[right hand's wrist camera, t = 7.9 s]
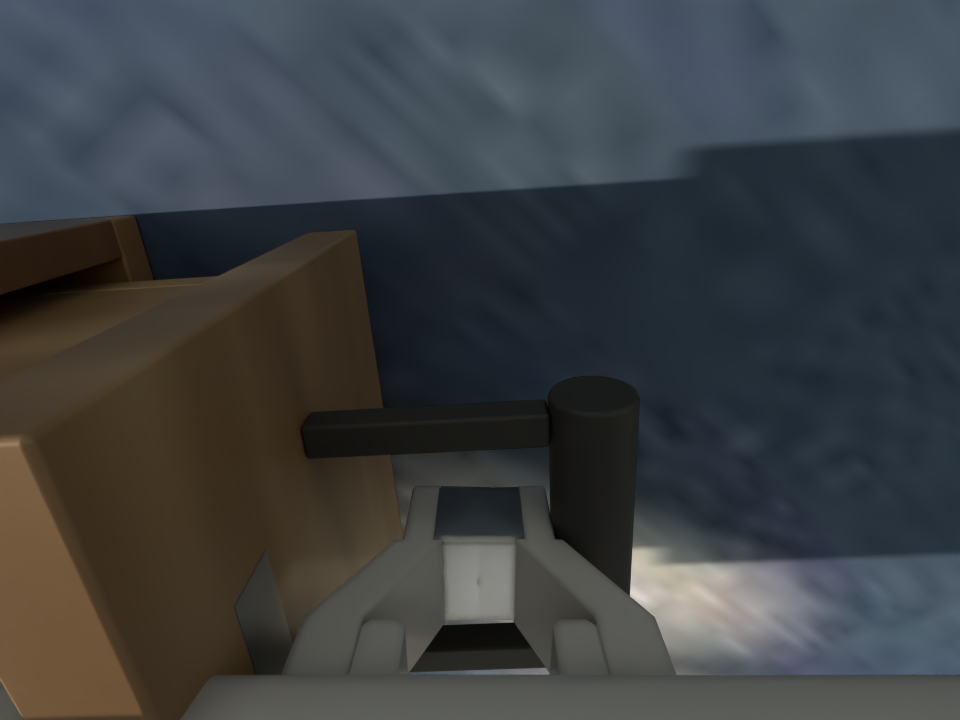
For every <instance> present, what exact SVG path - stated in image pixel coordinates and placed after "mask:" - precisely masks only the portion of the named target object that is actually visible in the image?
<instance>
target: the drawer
mask: <svg viewBox="0 0 960 720" xmlns="http://www.w3.org/2000/svg"><path fill="white" fill-rule="evenodd" d="M639 405H640V399H639V396H638V393H637V391H636V390H635V389H634V388H633V387H632V386H631V385H629V384H627V383H626V382H623V381H621V380H618V379H614V378H609V377H602V376H580V377H574V378H570V379H566V380H563V381H561V382H559V383H557V384H556V385H554V386H553V387H552V388H551V390H550V392H549V395H548V406H547V403H546V401H545V400H542V399H540V400H521V401H503V402H484V403H466V404H447V405H429V406H410V407H392V408H383V403H382V397H381V390H380V384H379V377H378V371H377V364H376V358H375V351H374V345H373V338H372V332H371V325H370V319H369V312H368V306H367V299H366V293H365V286H364V280H363V273H362V267H361V260H360V254H359V247H358V241H357V234H356V231H355V230H340V231H326V232H311V233H307V234H304V235H302V236H300V237H298V238H296V239H294V240H292V241H290V242H288V243H286V244H284V245H282V246H280V247H278V248H275V249H273V250H271V251H269V252H267V253H265V254H263V255H261V256H259V257H257V258H255V259H253V260H251V261H248V262H246V263H244V264H242V265H240V266H238V267H236V268H234V269H232V270H230V271H228V272H226V273H224V274H221V275H219V276H212V277H196V278H181V279H165V280H150V281H135V282H119V283H104V284H88V285H73V286H58V287H42V288H27V289H18V290H15V291H12V292H9V293H5V294H2V295H0V681H1V683H2V684H3V686H4V688H5V690H6V691H7V693H8V695H9V696H10V698H11V700H12V701H13V703H14V705H15V706H16V708H17V710H18V712H19V713H20V715H21V717H22V718H23V720H180V719H181V718H182V716H183V715H184V713H185V712H186V710H187V709H188V707H189V706H190V705H191V703H192V702H193V700H194V699H195V697H196V696H197V694H198V693H199V691H200V690H201V689H202V687H203V686H204V684H205V683H206V682H207V681H208V680H209V679H210V678H211V677H213V676H215V675H281V674H282V671H283V668H284V666H285V663H286V661H287V658H288V656H289V653H290V650H291V648H292V645H293V643H294V640H295V637H296V635H297V632H298V630H299V627H300V625H301V622H302V619H303V617H304V616H305V615H306V614H307V613H308V612H310V611H311V610H312V609H313V608H314V607H316V606H317V605H318V604H319V603H320V602H322V601H323V600H324V599H325V598H326V597H328V596H329V595H330V594H331V593H332V592H334V591H335V590H336V589H337V588H338V587H340V586H341V585H342V584H343V583H344V582H346V581H347V580H348V579H349V578H350V577H352V576H353V575H354V574H355V573H356V572H358V571H359V570H360V569H361V568H362V567H364V566H365V565H366V564H367V563H368V562H369V561H371V560H372V559H373V558H374V557H375V556H377V555H378V554H379V553H380V552H381V551H383V550H384V549H385V548H386V547H387V546H389V545H390V544H391V543H392V542H393V541H395V540H403V533H402V527H401V520H400V514H399V507H398V501H397V494H396V488H395V481H394V475H393V468H392V462H391V455H397V454H417V453H436V452H456V451H476V450H496V449H516V448H535V447H547V446H549V471H550V516H551V522H552V526H553V531H554V536H555V540H564V541H565V542H566V543H567V544H568V545H570V546H571V547H572V548H573V549H574V550H576V551H577V552H578V553H579V554H580V555H581V556H583V557H584V558H585V559H586V560H587V561H589V562H590V563H591V564H592V565H593V566H594V567H596V568H597V569H598V570H599V571H600V572H602V573H603V574H604V575H605V576H606V577H608V578H609V579H610V580H611V581H612V582H613V583H615V584H616V585H617V586H618V587H619V588H621V589H622V590H623V591H624V592H625V593H627V594H628V595H629V596H630V581H631V561H632V542H633V522H634V503H635V483H636V464H637V444H638V425H639ZM520 668H546V667H545V666H544V664H543V663H542V661H541V660H540V659H539V657H538V656H537V654H536V653H535V652H534V650H533V649H532V647H531V646H530V645H529V643H528V642H527V640H526V639H525V637H524V636H523V635H522V633H521V632H520V630H519V629H518V628H517V626H516V625H515V623H490V624H463V625H443V626H442V627H441V629H440V630H439V631H438V633H437V634H436V636H435V637H434V638H433V640H432V641H431V643H430V644H429V645H428V647H427V648H426V650H425V651H424V652H423V654H422V655H421V657H420V658H419V659H418V661H417V662H416V664H415V665H414V666H413V668H412V669H411V671H410V672H432V671H461V670H491V669H520Z"/></svg>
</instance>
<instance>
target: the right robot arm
mask: <svg viewBox="0 0 960 720" xmlns="http://www.w3.org/2000/svg"><path fill="white" fill-rule="evenodd" d="M471 619H487V620H514V623H515V625H516V626H517V628H518V629H519V630H520V632H521V633H522V635H523V636H524V637H525V639H526V640H527V642H528V643H529V645H530V646H531V647H532V649H533V650H534V652H535V653H536V654H537V656H538V657H539V659H540V660H541V661H542V663H543V664H544V666H545V667H546V668H547V670H548V671H549V673H550V675H408V673H409V672H410V671H411V669H412V668H413V666H414V665H415V664H416V662H417V661H418V659H419V658H420V657H421V655H422V654H423V652H424V651H425V650H426V648H427V647H428V645H429V644H430V643H431V641H432V640H433V638H434V637H435V636H436V634H437V633H438V631H439V630H440V629H441V627H442V626H443V624H444V623H445V622H444V620H471ZM0 720H23V718H22V717H21V715H20V713H19V712H18V710H17V708H16V706H15V705H14V703H13V701H12V700H11V698H10V696H9V695H8V693H7V691H6V690H5V688H4V686H3V684H2V683H1V681H0ZM180 720H960V675H676V672H675V670H674V667H673V664H672V662H671V659H670V656H669V654H668V651H667V648H666V646H665V643H664V640H663V638H662V635H661V632H660V630H659V627H658V625H657V622H656V619H655V617H654V616H653V615H651V614H650V613H649V612H648V611H647V610H645V609H644V608H643V607H642V606H641V605H640V604H638V603H637V602H636V601H635V600H634V599H632V598H631V597H630V596H629V595H628V594H627V593H625V592H624V591H623V590H622V589H621V588H619V587H618V586H617V585H616V584H615V583H613V582H612V581H611V580H610V579H609V578H608V577H606V576H605V575H604V574H603V573H602V572H600V571H599V570H598V569H597V568H596V567H594V566H593V565H592V564H591V563H590V562H589V561H587V560H586V559H585V558H584V557H583V556H581V555H580V554H579V553H578V552H577V551H576V550H574V549H573V548H572V547H571V546H570V545H568V544H567V543H566V542H565V541H564V540H555V536H554V531H553V526H552V522H551V516H550V511H549V506H548V501H547V496H546V491H545V488H544V487H543V486H522V487H495V488H490V487H454V486H441V487H439V486H415V488H414V489H413V493H412V498H411V503H410V507H409V512H408V517H407V522H406V527H405V532H404V537H403V540H395V541H393V542H392V543H391V544H390V545H389V546H387V547H386V548H385V549H384V550H383V551H381V552H380V553H379V554H378V555H377V556H375V557H374V558H373V559H372V560H371V561H369V562H368V563H367V564H366V565H365V566H364V567H362V568H361V569H360V570H359V571H358V572H356V573H355V574H354V575H353V576H352V577H350V578H349V579H348V580H347V581H346V582H344V583H343V584H342V585H341V586H340V587H338V588H337V589H336V590H335V591H334V592H332V593H331V594H330V595H329V596H328V597H326V598H325V599H324V600H323V601H322V602H320V603H319V604H318V605H317V606H316V607H314V608H313V609H312V610H311V611H310V612H308V613H307V614H306V615H305V616H304V617H303V619H302V622H301V625H300V627H299V630H298V632H297V635H296V637H295V640H294V643H293V645H292V648H291V650H290V653H289V656H288V658H287V661H286V663H285V666H284V668H283V671H282V674H281V675H215V676H213V677H211V678H210V679H209V680H208V681H207V682H206V683H205V684H204V686H203V687H202V689H201V690H200V691H199V693H198V694H197V696H196V697H195V699H194V700H193V702H192V703H191V705H190V706H189V707H188V709H187V710H186V712H185V713H184V715H183V716H182V718H181V719H180Z"/></svg>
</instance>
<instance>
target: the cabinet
mask: <svg viewBox="0 0 960 720" xmlns="http://www.w3.org/2000/svg"><path fill="white" fill-rule="evenodd" d="M150 280H154V278H153V275H152V272H151V268H150V265H149V262H148V259H147V255H146V252H145V249H144V246H143V242H142V239H141V236H140V232H139V229H138V226H137V223H136V219H135V217H134V216H132V215H124V216H110V217H95V218H81V219H67V220H53V221H38V222H24V223H10V224H0V295H2V294H5V293H9V292H12V291H15V290H18V289H27V288H42V287H58V286H73V285H88V284H104V283H119V282H135V281H150Z"/></svg>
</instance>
